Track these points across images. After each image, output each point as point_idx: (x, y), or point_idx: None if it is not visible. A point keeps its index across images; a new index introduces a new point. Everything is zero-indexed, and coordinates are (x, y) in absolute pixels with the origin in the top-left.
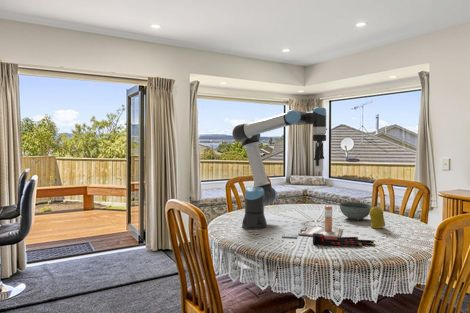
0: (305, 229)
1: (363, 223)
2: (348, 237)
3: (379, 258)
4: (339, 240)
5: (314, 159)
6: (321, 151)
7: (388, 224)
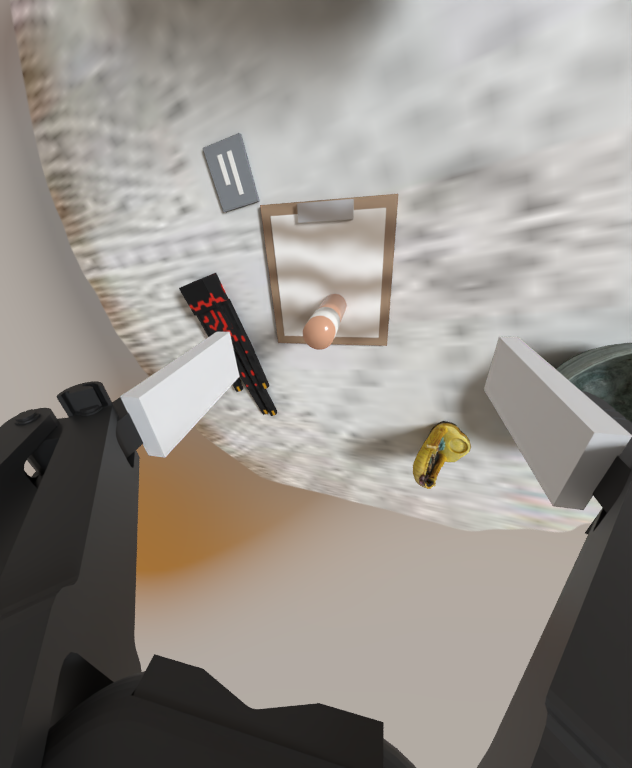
0: (313, 221)
1: None
2: (254, 368)
3: None
4: None
5: (78, 395)
6: (511, 712)
7: (498, 464)
